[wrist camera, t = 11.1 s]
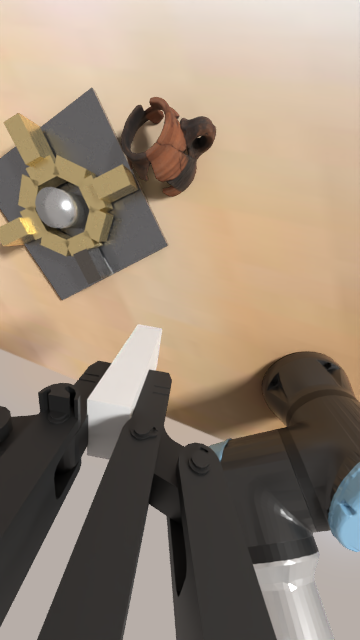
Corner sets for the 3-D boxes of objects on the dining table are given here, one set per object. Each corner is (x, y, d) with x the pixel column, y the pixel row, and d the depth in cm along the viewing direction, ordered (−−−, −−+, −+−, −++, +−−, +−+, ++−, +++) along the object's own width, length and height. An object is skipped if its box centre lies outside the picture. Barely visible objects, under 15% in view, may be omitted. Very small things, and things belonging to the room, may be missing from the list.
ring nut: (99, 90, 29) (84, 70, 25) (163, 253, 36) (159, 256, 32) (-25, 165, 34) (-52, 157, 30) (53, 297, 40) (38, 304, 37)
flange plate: (168, 245, 37) (162, 248, 31) (65, 298, 42) (42, 309, 36) (95, 91, 30) (69, 57, 24) (-17, 177, 35) (-61, 166, 29)
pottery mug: (155, 210, 36) (119, 180, 28) (147, 156, 37) (111, 113, 29) (228, 176, 30) (209, 128, 23) (217, 115, 31) (195, 49, 24)
